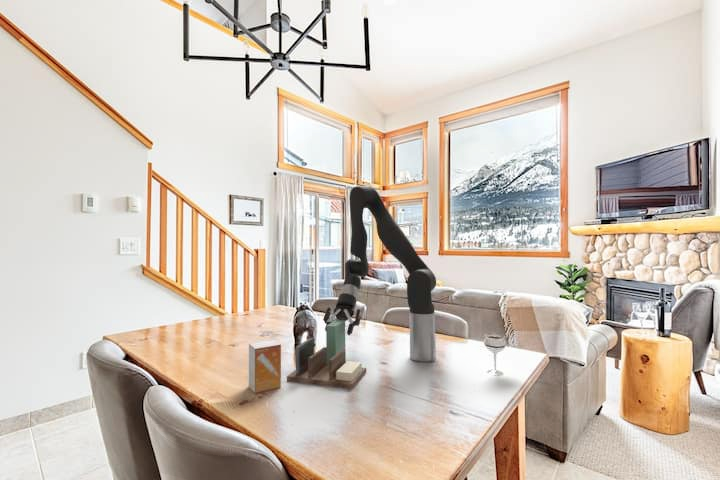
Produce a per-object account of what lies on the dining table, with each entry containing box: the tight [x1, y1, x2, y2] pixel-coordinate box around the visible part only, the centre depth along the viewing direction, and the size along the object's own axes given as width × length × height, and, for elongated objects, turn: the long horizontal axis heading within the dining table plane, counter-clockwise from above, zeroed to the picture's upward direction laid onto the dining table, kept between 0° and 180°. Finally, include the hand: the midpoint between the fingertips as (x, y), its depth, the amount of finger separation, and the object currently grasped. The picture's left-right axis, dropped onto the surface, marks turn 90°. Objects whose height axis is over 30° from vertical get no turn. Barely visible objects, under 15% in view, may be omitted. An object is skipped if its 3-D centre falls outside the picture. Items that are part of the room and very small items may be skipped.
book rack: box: [286, 346, 367, 390], centre depth 111 cm, size 22×14×8 cm, turn 72°
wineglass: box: [483, 333, 507, 376], centre depth 113 cm, size 7×7×12 cm
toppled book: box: [336, 360, 363, 381], centre depth 109 cm, size 5×10×2 cm, turn 162°
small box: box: [248, 339, 282, 394], centre depth 104 cm, size 8×6×13 cm
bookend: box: [295, 337, 315, 376], centre depth 114 cm, size 1×11×9 cm, turn 162°
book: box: [325, 320, 346, 364], centre depth 126 cm, size 4×10×14 cm, turn 162°
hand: (337, 333), depth 128 cm, fingers open, 8 cm apart
